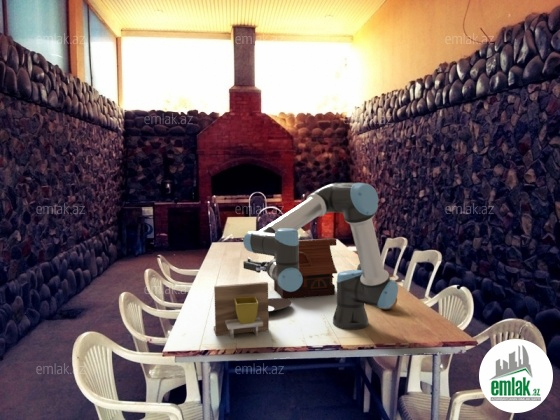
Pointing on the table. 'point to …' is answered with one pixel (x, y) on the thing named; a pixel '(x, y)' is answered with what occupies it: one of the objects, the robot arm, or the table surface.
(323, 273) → the house
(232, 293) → the cleat board
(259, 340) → the table surface
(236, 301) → the flower pot
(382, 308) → the onion
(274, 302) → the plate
